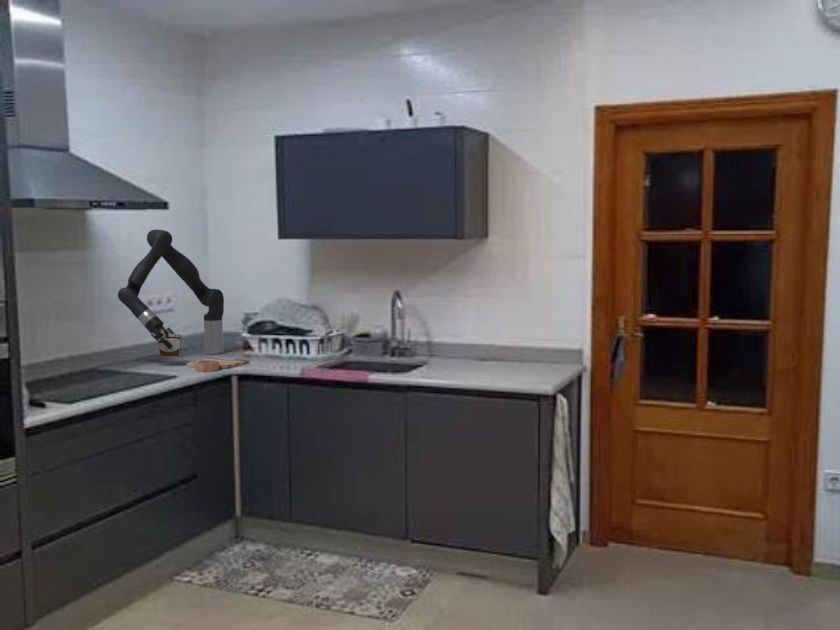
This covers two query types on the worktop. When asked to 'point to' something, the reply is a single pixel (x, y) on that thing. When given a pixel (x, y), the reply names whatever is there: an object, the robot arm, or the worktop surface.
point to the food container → (176, 346)
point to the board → (224, 362)
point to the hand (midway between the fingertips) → (174, 346)
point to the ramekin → (207, 366)
